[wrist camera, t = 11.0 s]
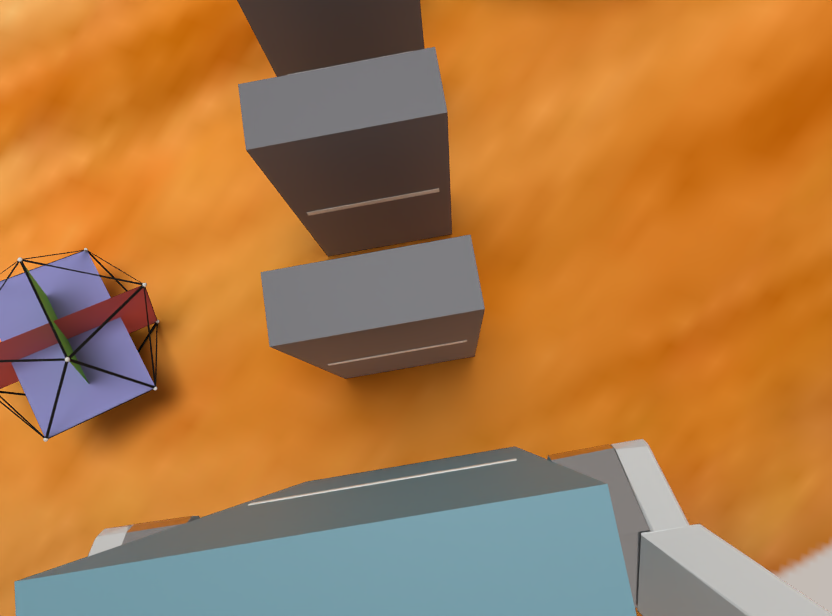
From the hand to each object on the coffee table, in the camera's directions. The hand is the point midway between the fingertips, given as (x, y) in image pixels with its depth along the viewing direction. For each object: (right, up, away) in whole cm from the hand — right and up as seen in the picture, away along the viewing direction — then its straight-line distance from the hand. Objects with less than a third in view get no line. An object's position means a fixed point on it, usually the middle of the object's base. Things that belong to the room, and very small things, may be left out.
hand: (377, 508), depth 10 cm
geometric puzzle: (-13, +1, +18) cm, 22 cm away
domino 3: (0, +2, +17) cm, 17 cm away
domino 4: (+1, -2, +6) cm, 6 cm away
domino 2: (-1, +7, +18) cm, 19 cm away
